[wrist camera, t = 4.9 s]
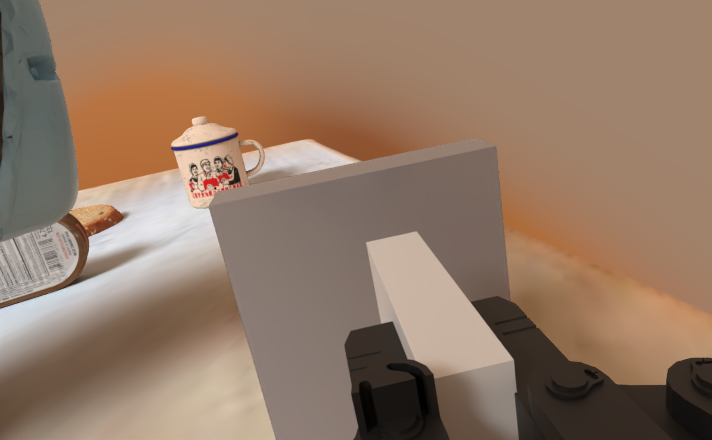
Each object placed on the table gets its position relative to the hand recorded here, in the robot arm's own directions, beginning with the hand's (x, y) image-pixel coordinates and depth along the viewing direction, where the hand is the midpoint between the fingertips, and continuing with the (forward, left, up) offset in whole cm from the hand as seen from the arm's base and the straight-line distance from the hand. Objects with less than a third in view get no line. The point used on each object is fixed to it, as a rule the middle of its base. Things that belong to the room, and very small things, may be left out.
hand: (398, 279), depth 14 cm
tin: (-45, +1, -10) cm, 46 cm away
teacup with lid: (-50, +31, -10) cm, 60 cm away
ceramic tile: (-3, +3, -10) cm, 10 cm away
